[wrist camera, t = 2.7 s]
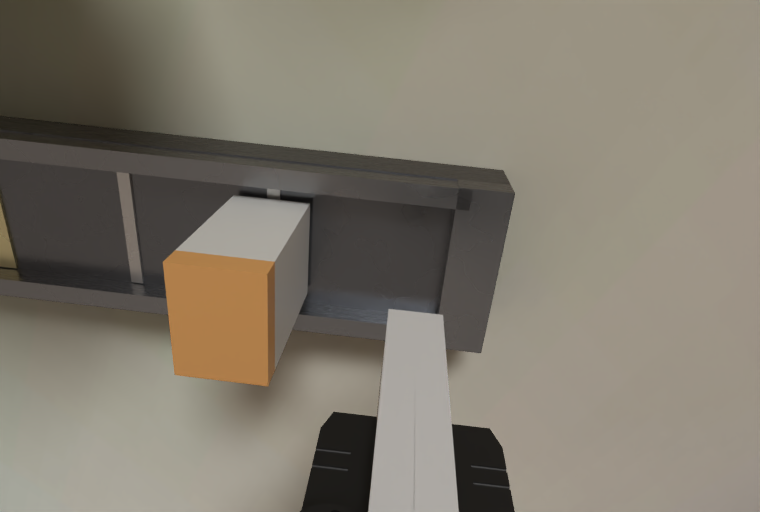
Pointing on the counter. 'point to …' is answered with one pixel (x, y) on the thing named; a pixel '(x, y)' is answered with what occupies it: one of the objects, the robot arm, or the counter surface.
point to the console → (253, 179)
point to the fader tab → (238, 289)
